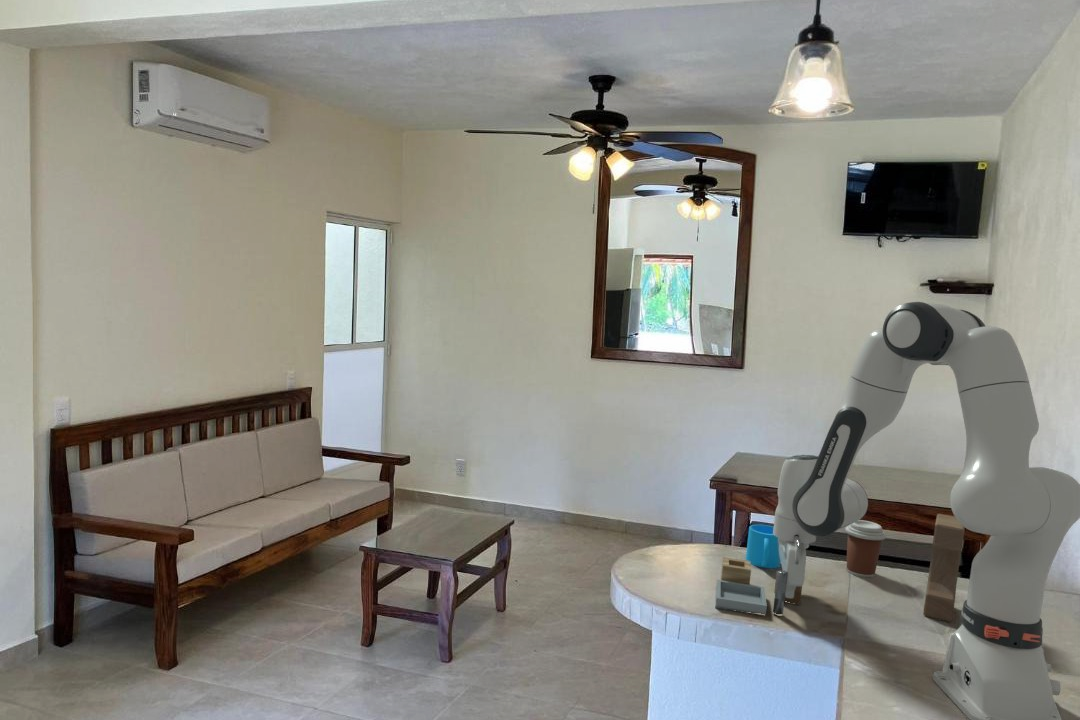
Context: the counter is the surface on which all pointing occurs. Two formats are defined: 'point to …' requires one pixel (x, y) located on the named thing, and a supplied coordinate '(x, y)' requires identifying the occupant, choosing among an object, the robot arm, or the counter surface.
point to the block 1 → (736, 570)
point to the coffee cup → (863, 547)
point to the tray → (740, 597)
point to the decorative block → (944, 568)
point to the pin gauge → (780, 592)
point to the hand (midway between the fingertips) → (787, 591)
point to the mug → (763, 547)
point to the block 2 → (796, 594)
